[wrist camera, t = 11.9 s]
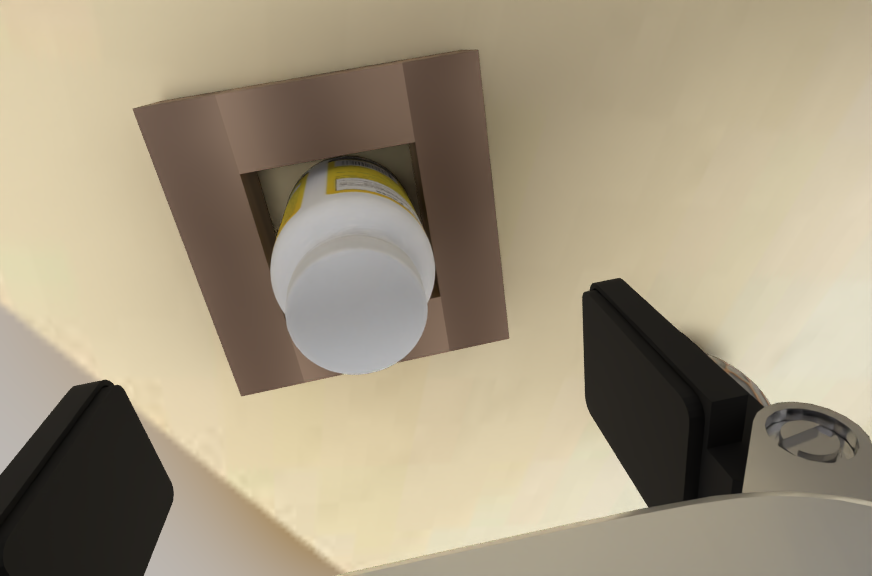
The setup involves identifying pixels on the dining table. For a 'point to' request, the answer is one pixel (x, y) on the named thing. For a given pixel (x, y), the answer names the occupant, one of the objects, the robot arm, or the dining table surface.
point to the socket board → (318, 139)
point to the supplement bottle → (352, 267)
